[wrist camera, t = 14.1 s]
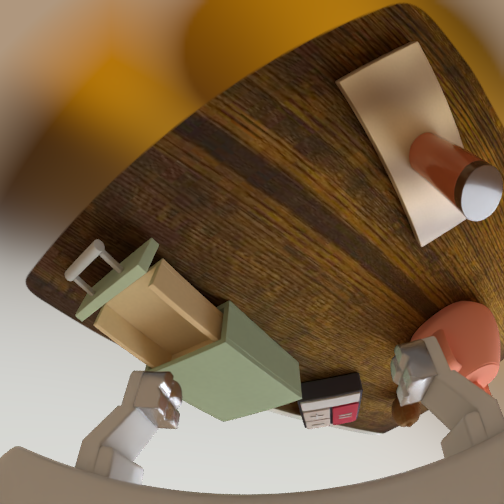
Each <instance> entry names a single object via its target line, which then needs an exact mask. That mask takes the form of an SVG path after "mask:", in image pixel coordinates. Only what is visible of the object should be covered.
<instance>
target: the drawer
mask: <svg viewBox="0 0 504 504" xmlns="http://www.w3.org/2000/svg"><path fill="white" fill-rule="evenodd" d="M158 246H159V244H158V243H157V242H156V241H155V240H154V239H153V238H150V239H149V240H148V241H147V242H145V243H144V244H143V245H142V246H140V247H139V248H138V249H137V250H136V251H134V252H133V253H132V254H131V255H129V256H128V257H127V258H126V259H125V260H123V261H122V262H121V263H120V264H119V263H118V262H117V261H116V260H115V259H114V258H113V257H112V256H110V255H109V254H108V253H107V252H106V251H105V250H104V249H105V246H104V243H103V242H102V241H101V240H99V239H96V240H94V242H93V243H92V244H91V245H90V246H89V247H88V248H87V249H86V250H85V251H84V252H83V253H82V254H81V255H80V256H79V257H78V258H77V259H76V260H75V262H74V263H73V264H72V265H71V266H70V267H69V268H68V269H67V270H66V271H65V277H66V279H67V280H69V281H73V280H74V281H75V282H76V283H77V284H78V285H79V286H80V287H81V288H82V289H84V290H85V291H86V292H87V295H86V296H85V298H84V300H83V302H82V304H81V305H80V307H79V309H78V311H77V313H76V314H75V316H76V317H77V318H78V319H80V320H81V321H83V320H85V319H86V318H87V317H88V316H90V315H91V314H92V313H94V312H95V311H96V310H98V309H99V308H100V307H101V306H102V308H101V310H100V312H99V314H98V316H97V318H96V321H95V323H94V326H95V327H96V328H98V329H99V330H100V331H101V332H103V333H104V334H105V335H106V336H108V337H109V338H110V339H112V340H113V341H114V342H116V343H117V344H118V345H120V346H121V347H122V348H124V349H125V350H127V351H128V352H129V353H131V354H132V355H134V356H135V357H136V358H138V359H139V360H141V361H142V362H144V363H145V364H146V365H148V366H149V367H151V368H152V369H153V368H155V367H157V366H160V365H162V364H165V363H167V362H170V361H172V360H174V359H177V358H179V357H181V356H184V355H186V354H188V353H191V352H193V351H195V350H198V349H200V348H202V347H204V346H207V345H209V344H211V343H213V342H216V341H218V340H220V339H221V332H222V323H223V313H222V312H221V311H219V310H218V309H217V308H216V307H215V306H214V305H213V304H212V303H210V302H209V301H208V300H207V299H206V298H205V297H204V296H203V295H202V294H201V293H199V292H198V291H197V290H196V289H195V288H194V287H193V286H192V285H191V284H190V283H189V282H187V281H186V280H185V279H184V278H183V277H182V276H181V275H180V274H179V273H178V272H177V271H176V270H175V269H174V268H173V267H172V266H170V265H169V264H168V263H167V262H166V261H165V260H164V259H161V260H160V261H158V262H157V263H156V264H154V265H153V266H152V267H150V268H149V266H150V264H151V262H152V259H153V257H154V255H155V253H156V251H157V249H158ZM99 254H100V256H101V257H102V258H103V259H104V260H105V261H106V262H107V263H108V264H109V265H110V266H111V267H112V268H113V270H112V271H110V272H109V273H108V274H107V275H106V276H105V277H103V278H102V279H101V280H100V281H99V282H98V283H97V284H95V285H94V286H93V287H92V288H91V287H90V286H89V285H88V284H87V283H86V282H85V281H83V280H82V279H81V278H80V277H79V276H78V275H79V274H80V273H81V272H82V271H83V270H84V269H85V268H86V267H87V266H88V265H89V264H90V263H91V262H92V261H93V260H94V259H95V258H96V257H97V256H98V255H99ZM148 268H149V269H148Z"/></svg>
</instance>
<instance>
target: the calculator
mask: <svg viewBox="0 0 504 504" xmlns="http://www.w3.org/2000/svg"><path fill="white" fill-rule="evenodd" d="M362 391H363V389H362V385H361V380H360V376H359V373H353V374H348V375H343V376H338V377H333V378H328V379H322V380H317V381H311V382H305V383H301V392H302V399H300V400H297V402H298V406H299V409H300V413H301V416H302V419H303V423H304V426H305V428H307V429H313V428H319V427H325V426H330V424H333V425H337V424H342V423H347V422H352V421H355V420H356V419H357V418H358V413H359V408H360V402H361V397H362Z"/></svg>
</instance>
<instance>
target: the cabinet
mask: <svg viewBox="0 0 504 504" xmlns="http://www.w3.org/2000/svg"><path fill="white" fill-rule="evenodd" d="M216 308H217V309H218V310H219V311H221V312H222V313H223V323H222V332H221V339H220V340H218V341H216V342H213V343H211V344H209V345H207V346H204V347H202V348H200V349H198V350H195V351H193V352H191V353H188V354H186V355H184V356H181V357H179V358H177V359H174V360H172V361H170V362H167V363H165V364H162V365H160V366H157V367H155V368H153V369H152V368H151V367H149V366H148V365H146V369H145V371H170V372H171V373H172V374H173V376H174V378H173V380H175V381H176V382H178V383H179V384H180V386H181V389H182V397H183V398H182V400H183V401H185V402H187V403H189V404H190V405H192V406H194V407H196V408H198V409H200V410H202V411H203V412H205V413H208V414H209V415H211V416H213V417H215V418H217V419H219V420H221V421H223V422H224V421H228V420H233V419H237V418H240V417H244V416H248V415H252V414H255V413H258V412H262V411H266V410H269V409H272V408H276V407H279V406H282V405H285V404H288V403H291V402H294V401H297V400H300V399H302V392H301V382H300V372H299V362H298V361H296V360H295V359H294V358H293V357H292V356H291V355H290V354H288V353H287V352H286V351H285V350H284V349H283V348H282V347H280V346H279V345H278V344H277V343H276V342H275V341H274V340H273V339H271V338H270V337H269V336H268V335H267V334H266V333H265V332H264V331H263V330H261V329H260V328H259V327H258V326H257V325H256V324H255V323H254V322H253V321H252V320H250V319H249V318H248V317H247V316H246V315H245V314H244V313H243V312H242V311H241V310H240V309H239V308H237V307H236V306H235V305H234V304H233V303H232V302H231V301H230V300H229V301H227V302H225V303H223V304H221V305H220V306H218V307H216Z"/></svg>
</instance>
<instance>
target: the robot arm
mask: <svg viewBox="0 0 504 504" xmlns="http://www.w3.org/2000/svg"><path fill="white" fill-rule="evenodd" d="M394 353H395V356H394V357H393V358H392V360H391V375H392V379H393V382H395V383H396V384H397V385H399V386H398V388H397V391H396V392H397V396H398V399H399V403H400V406H404V405H408V404H412V403H416V402H419V401H421V403H422V404H423V405H424V406H425V407H426V408H427V409H429V410H430V411H431V412H432V413H433V414H434V415H435V416H436V417H437V418H438V419H439V420H440V421H441V422H442V423H443V424H444V425H445V426H446V427H448V429H450V430H451V431H450V432H449V433H448V434H447V436H446V437H445V438H444V439H443V440H442V442H441V445H442V450H443V453H444V457H445V458H444V459H441V460H439V461H436V462H433V463H430V464H428V465H425V466H422V467H419V468H416V469H412V470H409V471H406V472H403V473H399V474H395V475H392V476H388V477H384V478H380V479H376V480H372V481H367V482H362V483H358V484H353V485H347V486H342V487H335V488H330V489H323V490H314V491H305V492H295V493H281V494H257V495H256V494H254V495H253V494H252V495H240V494H239V495H238V494H212V493H197V492H186V491H179V490H171V489H164V488H157V487H151V486H146V485H141V484H142V477H143V471H144V470H143V468H142V467H141V466H139V465H137V464H136V463H134V462H133V461H134V459H135V458H136V457H137V456H138V454H139V453H140V452H141V451H142V449H143V448H144V447H145V445H146V444H147V443H148V442H149V440H150V439H151V438H152V436H153V435H154V434H155V433H156V431H157V430H158V428H169V429H177V428H178V422H179V417H180V414H179V412H178V410H177V409H178V407H180V405H181V404H182V398H183V397H182V389H181V386H180V384H179V383H178V382H176V381H175V380H173V378H174V376H173V374H172V373H171V372H170V371H133V372H132V374H131V375H130V379H129V382H128V385H127V388H126V392H125V395H124V398H123V402H122V405H121V406H117V407H116V408H115V409H114V410H113V411H112V412H111V413H110V414H109V415H108V416H107V417H106V418H105V419H104V420H103V421H102V422H101V423H100V424H99V425H98V426H97V427H96V428H95V429H94V430H93V431H92V432H91V433H90V434H89V435H88V436H87V437H85V438H84V440H83V441H82V445H81V448H80V451H79V455H78V458H77V462H76V466H75V468H74V467H71V466H68V465H65V464H63V463H60V462H57V461H54V460H52V459H49V458H47V457H44V456H42V455H39V454H37V453H34V452H32V451H30V450H27V449H25V448H23V447H20V446H16V447H14V448H12V449H10V450H9V451H8V452H7V453H5V454H4V455H3V456H2V457H1V458H0V504H504V417H503V415H502V412H501V409H500V407H499V404H498V402H497V400H496V399H495V398H493V397H492V396H491V395H489V394H488V393H486V392H485V391H484V390H482V389H481V388H479V387H478V386H477V385H475V384H474V383H472V382H471V381H469V380H468V379H467V378H465V377H464V376H462V375H461V374H460V373H458V372H457V371H455V370H452V371H451V369H450V367H449V365H448V363H447V360H446V358H445V356H444V354H443V352H442V349H441V347H440V345H439V343H438V341H437V339H436V337H434V336H430V337H427V338H423V339H418V340H414V341H410V342H406V343H403V344H399V345H396V346H395V349H394Z"/></svg>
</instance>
